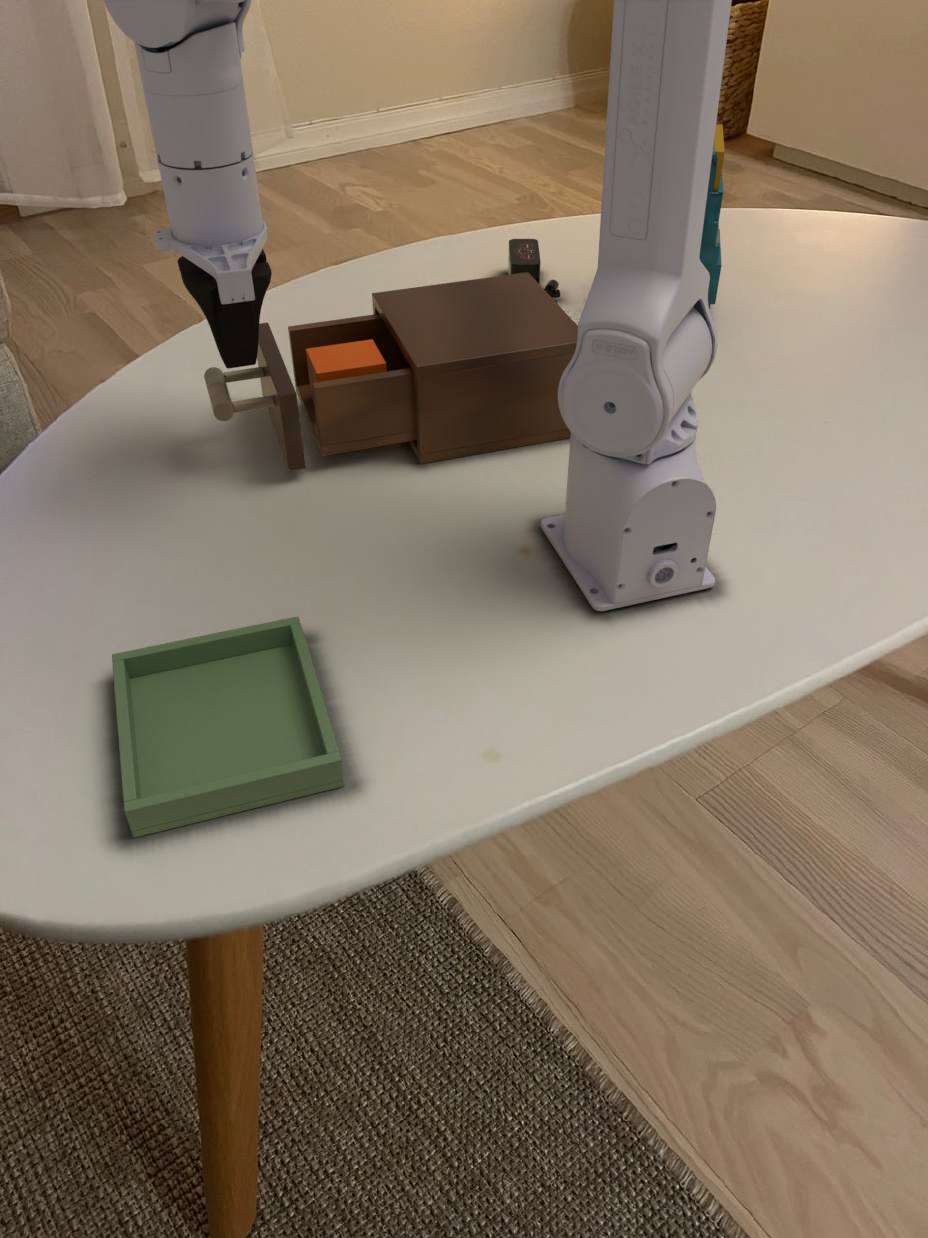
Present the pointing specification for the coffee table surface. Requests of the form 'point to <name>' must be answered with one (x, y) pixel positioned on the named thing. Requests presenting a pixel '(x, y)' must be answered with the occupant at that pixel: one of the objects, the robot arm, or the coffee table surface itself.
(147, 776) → the tray
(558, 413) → the cabinet
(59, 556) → the coffee table surface
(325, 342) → the drawer
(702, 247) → the handheld gaming console
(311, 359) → the matte orange cube
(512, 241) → the wireless earbuds
